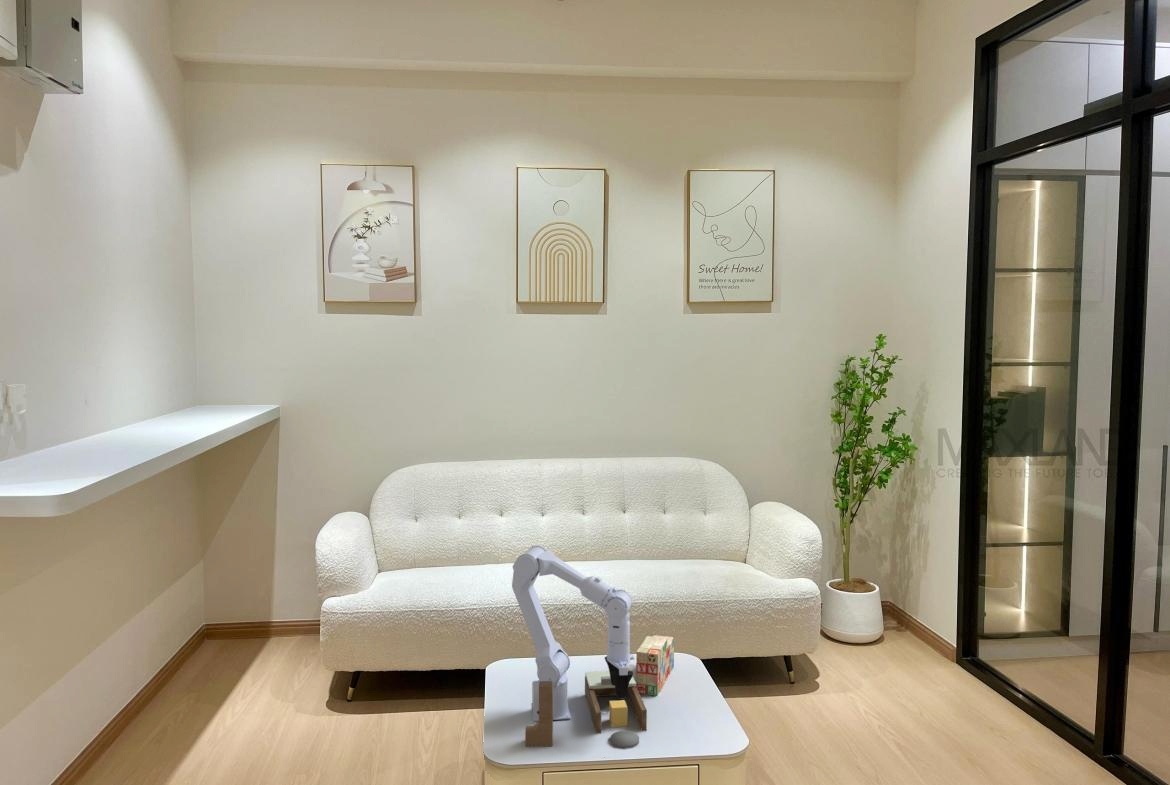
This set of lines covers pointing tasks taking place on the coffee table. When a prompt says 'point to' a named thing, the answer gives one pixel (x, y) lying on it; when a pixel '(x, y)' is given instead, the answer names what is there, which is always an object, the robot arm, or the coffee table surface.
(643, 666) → the stack of blocks
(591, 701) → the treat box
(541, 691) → the wooden block
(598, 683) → the lid
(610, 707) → the ochre block
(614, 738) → the coaster
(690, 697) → the coffee table surface
